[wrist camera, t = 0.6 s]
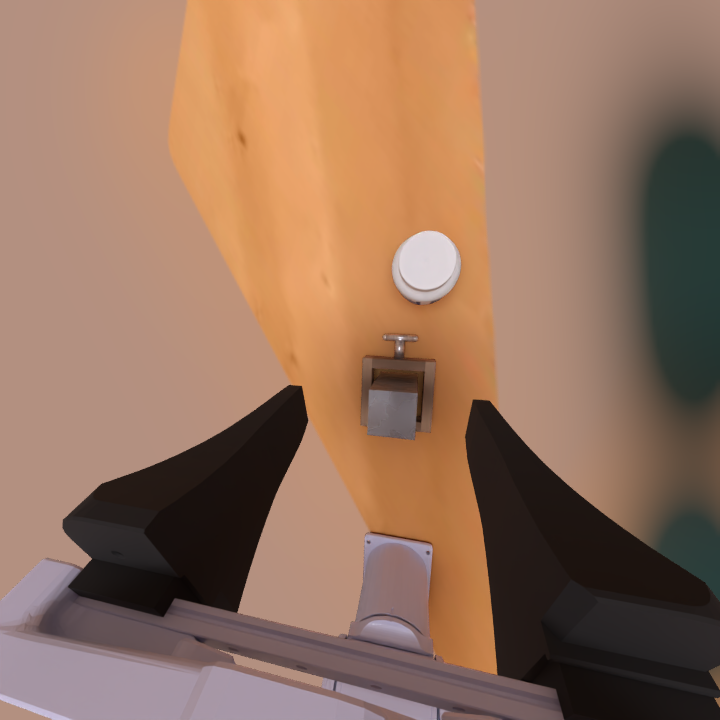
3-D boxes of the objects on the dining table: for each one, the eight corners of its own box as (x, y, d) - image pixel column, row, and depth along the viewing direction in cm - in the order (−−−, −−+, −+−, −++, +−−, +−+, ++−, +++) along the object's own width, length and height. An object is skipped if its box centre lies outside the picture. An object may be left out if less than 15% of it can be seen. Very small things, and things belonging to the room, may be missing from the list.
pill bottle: (449, 247, 28) (466, 212, 19) (452, 302, 29) (470, 295, 19) (394, 255, 29) (384, 226, 20) (399, 307, 30) (391, 303, 20)
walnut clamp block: (429, 425, 31) (430, 432, 29) (363, 418, 32) (360, 425, 30) (436, 335, 29) (437, 336, 27) (366, 332, 31) (363, 333, 29)
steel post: (414, 409, 31) (414, 440, 23) (379, 406, 32) (367, 434, 24) (417, 373, 30) (417, 393, 23) (380, 371, 31) (369, 389, 23)
